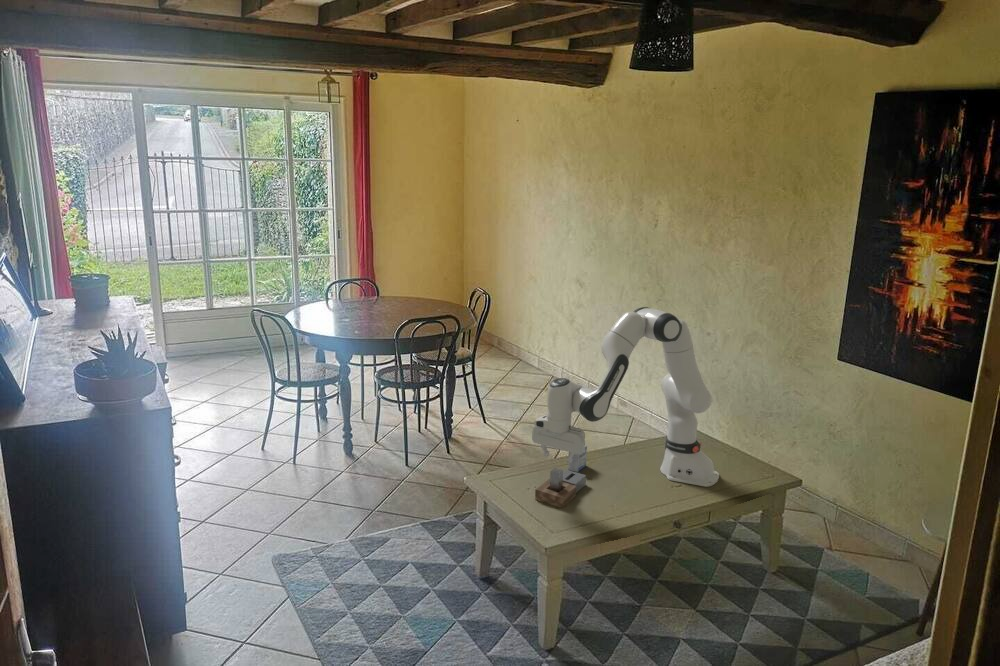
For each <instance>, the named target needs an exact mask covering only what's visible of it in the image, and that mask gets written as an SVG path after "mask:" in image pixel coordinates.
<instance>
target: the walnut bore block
mask: <svg viewBox="0 0 1000 666" xmlns="http://www.w3.org/2000/svg"><path fill="white" fill-rule="evenodd" d="M534 495H535V496H534V500H536V501H539V502H543V503H545V504H548V505H552V506H554V507H558V508H561V509H562V508H564V507H565V506H566V505H567V504H568V503H570V502H571V501H572V500H573V499H574V498H575V497H576V496H577V493H576V486H575V485H571V484H568V483H565V482H563V486H562V491H560V492H555V491H552V490H550V478H549V479H547V480H546V481H544V482H543V483H541V485H539V486H538V487H536V489H535V493H534Z"/></svg>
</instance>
